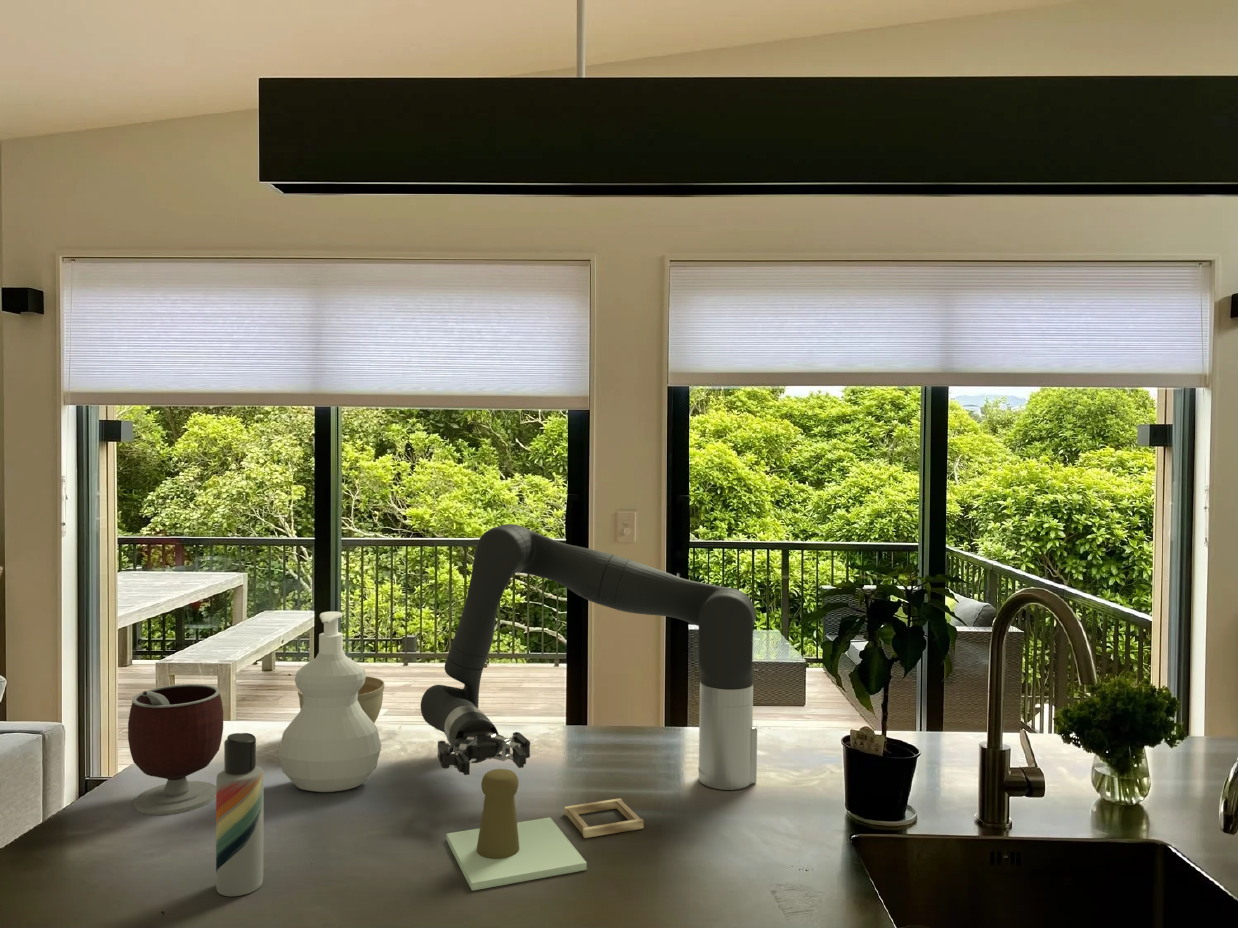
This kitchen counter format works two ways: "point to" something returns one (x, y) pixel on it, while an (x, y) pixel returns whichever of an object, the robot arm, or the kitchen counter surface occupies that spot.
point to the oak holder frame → (606, 828)
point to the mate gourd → (175, 744)
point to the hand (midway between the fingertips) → (495, 764)
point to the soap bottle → (330, 721)
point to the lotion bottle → (239, 818)
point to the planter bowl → (366, 697)
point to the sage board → (517, 856)
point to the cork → (499, 815)
